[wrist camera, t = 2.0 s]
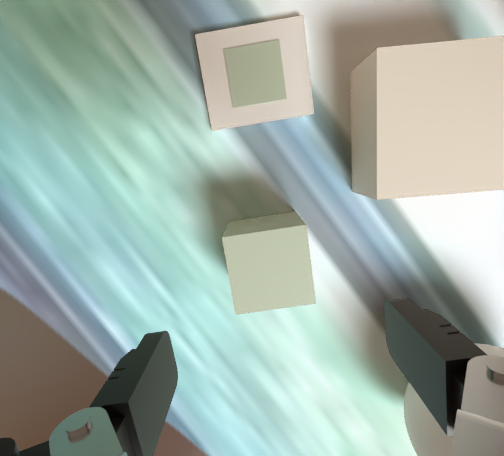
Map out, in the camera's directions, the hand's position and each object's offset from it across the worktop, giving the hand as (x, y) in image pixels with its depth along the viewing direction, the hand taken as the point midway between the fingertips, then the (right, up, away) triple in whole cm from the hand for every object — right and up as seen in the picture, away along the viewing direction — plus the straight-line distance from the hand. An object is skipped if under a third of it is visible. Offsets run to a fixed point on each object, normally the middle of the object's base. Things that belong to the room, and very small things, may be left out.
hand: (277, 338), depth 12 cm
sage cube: (0, +2, +12) cm, 13 cm away
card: (-1, +14, +10) cm, 17 cm away
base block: (+10, +11, +11) cm, 18 cm away
